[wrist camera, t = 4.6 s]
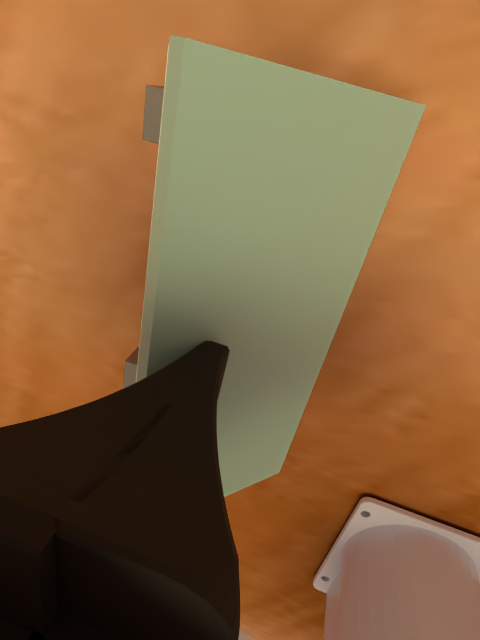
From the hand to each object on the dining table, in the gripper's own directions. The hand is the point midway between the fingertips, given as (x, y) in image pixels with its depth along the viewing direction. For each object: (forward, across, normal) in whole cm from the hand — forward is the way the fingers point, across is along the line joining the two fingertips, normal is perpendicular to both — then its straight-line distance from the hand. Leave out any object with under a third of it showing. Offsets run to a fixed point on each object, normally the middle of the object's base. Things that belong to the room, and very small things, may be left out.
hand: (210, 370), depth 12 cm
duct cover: (+2, -1, 0) cm, 2 cm away
